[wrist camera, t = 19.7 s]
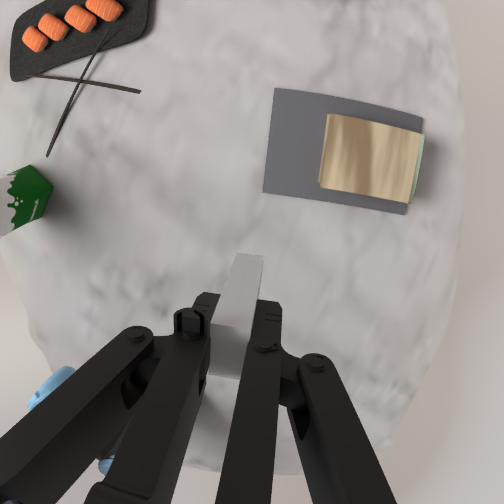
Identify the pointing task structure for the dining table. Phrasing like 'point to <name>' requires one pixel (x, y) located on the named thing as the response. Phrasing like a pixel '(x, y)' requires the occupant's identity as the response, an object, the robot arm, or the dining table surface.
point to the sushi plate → (72, 37)
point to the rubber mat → (319, 145)
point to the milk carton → (22, 198)
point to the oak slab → (370, 158)
